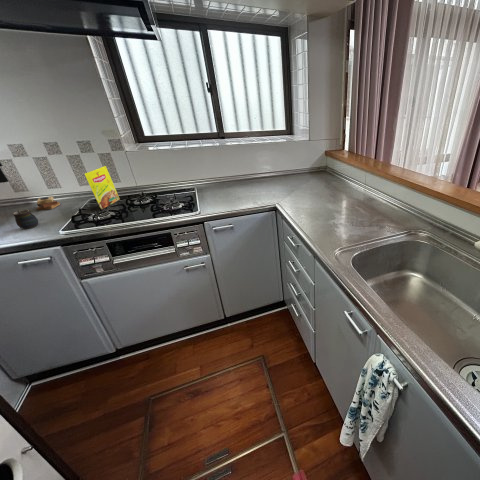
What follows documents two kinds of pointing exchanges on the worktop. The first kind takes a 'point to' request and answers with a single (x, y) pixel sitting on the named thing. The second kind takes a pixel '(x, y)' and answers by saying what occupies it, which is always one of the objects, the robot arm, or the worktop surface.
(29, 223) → the mate gourd
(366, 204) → the worktop surface
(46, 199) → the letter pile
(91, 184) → the food package
